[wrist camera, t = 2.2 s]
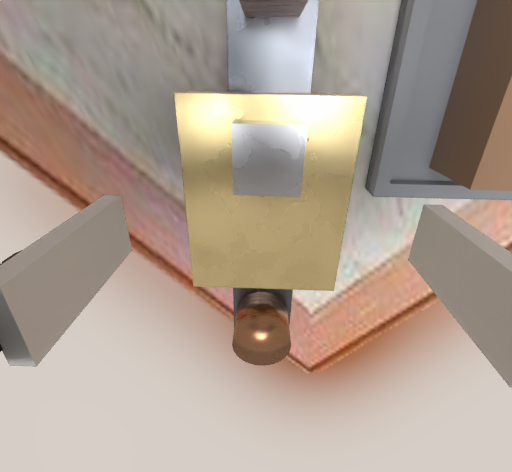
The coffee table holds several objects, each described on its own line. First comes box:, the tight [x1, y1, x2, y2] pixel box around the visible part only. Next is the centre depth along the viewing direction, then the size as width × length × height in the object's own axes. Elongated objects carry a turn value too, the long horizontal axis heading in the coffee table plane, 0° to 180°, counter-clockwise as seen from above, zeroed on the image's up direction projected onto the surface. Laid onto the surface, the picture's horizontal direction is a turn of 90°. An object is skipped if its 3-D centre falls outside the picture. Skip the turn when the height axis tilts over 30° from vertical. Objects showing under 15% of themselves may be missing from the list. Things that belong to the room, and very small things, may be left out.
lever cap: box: [174, 91, 367, 291], centre depth 15 cm, size 10×8×4 cm
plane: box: [226, 0, 319, 365], centre depth 18 cm, size 22×4×11 cm, turn 179°
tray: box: [365, 0, 512, 200], centre depth 18 cm, size 14×12×6 cm
